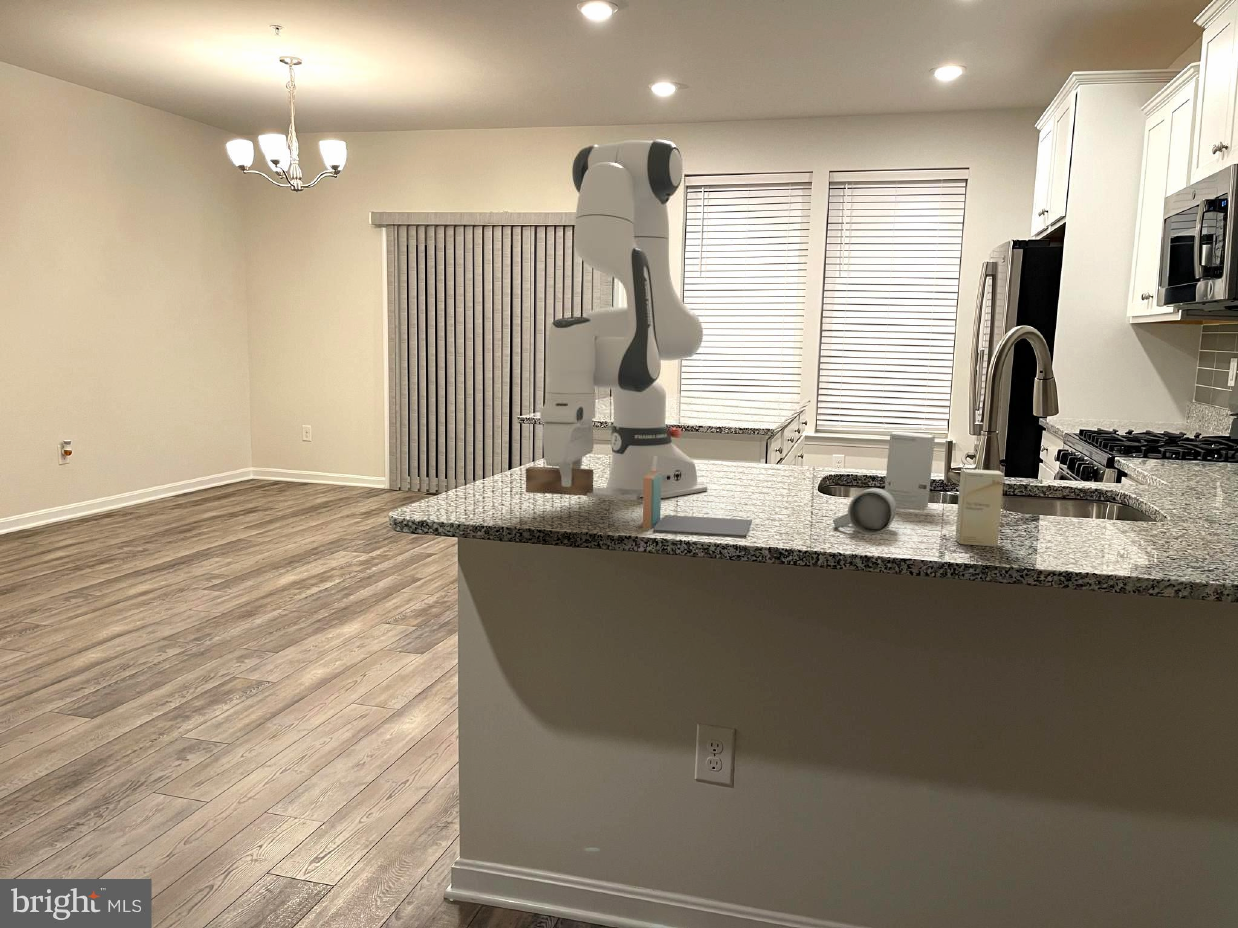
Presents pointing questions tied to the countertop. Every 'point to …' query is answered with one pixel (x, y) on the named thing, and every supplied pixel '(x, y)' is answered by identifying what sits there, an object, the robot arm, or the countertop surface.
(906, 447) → the skincare box
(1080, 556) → the countertop surface
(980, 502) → the skincare box
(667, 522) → the mat
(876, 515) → the ceramic mug
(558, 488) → the turner
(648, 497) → the tile
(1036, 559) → the countertop surface
